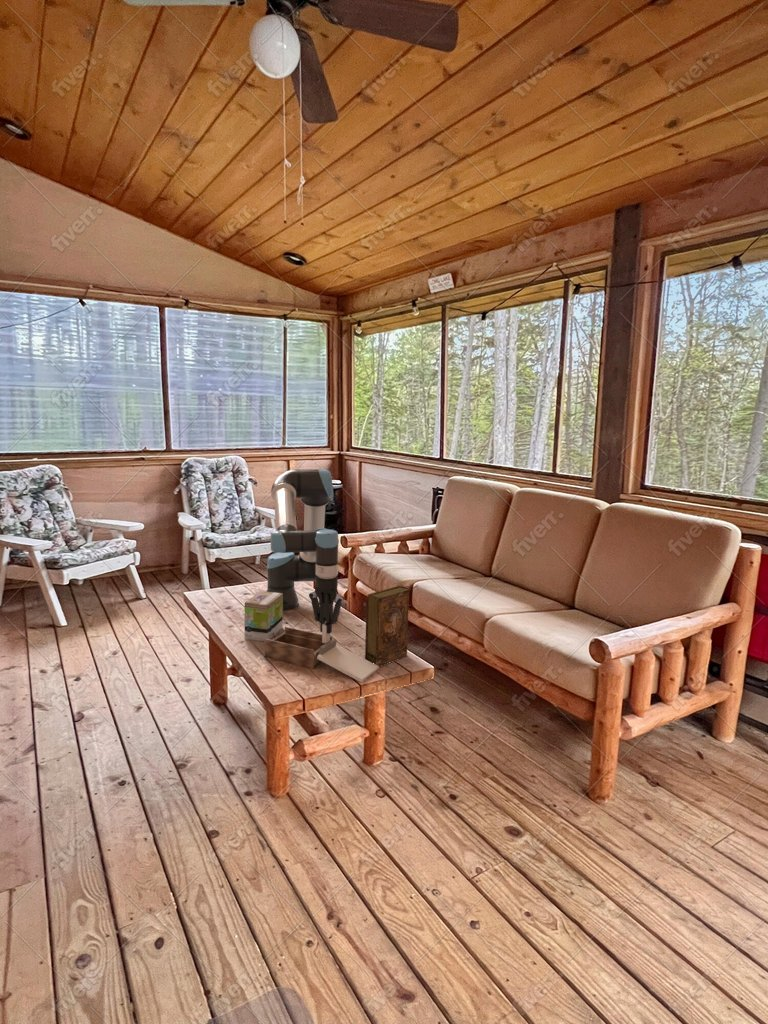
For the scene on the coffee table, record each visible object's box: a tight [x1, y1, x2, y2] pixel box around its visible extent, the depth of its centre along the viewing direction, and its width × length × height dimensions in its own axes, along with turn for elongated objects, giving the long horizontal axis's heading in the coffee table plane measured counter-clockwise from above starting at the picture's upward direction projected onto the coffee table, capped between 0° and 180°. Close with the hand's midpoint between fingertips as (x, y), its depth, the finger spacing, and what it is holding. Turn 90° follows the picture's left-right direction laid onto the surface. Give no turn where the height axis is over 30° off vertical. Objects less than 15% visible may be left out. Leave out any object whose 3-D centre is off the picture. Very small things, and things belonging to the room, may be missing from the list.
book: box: [364, 585, 410, 667], centre depth 205 cm, size 16×6×25 cm, turn 133°
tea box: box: [243, 590, 284, 642], centre depth 226 cm, size 15×10×15 cm, turn 168°
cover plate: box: [317, 638, 380, 683], centre depth 198 cm, size 18×11×4 cm, turn 61°
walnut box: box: [263, 626, 334, 670], centre depth 207 cm, size 20×13×7 cm, turn 65°
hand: (325, 641), depth 202 cm, fingers closed
